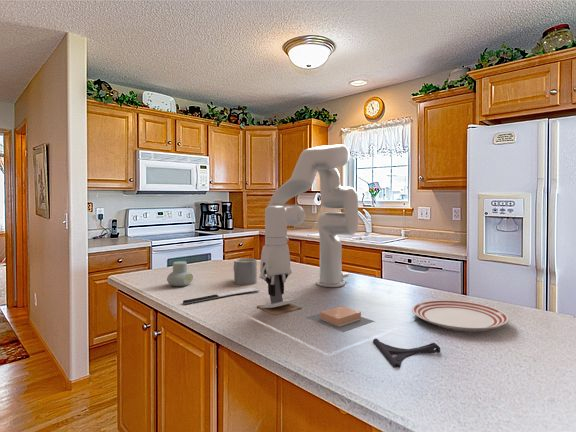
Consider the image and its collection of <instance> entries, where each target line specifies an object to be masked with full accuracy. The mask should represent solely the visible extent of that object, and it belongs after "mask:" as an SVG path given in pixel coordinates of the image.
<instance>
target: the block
mask: <svg viewBox="0 0 576 432" xmlns="http://www.w3.org/2000/svg"><path fill="white" fill-rule="evenodd" d="M319 313H320V319H321V320H324V321H326V322H329V323H332V324H334V325H337V326H342V325H345V324H348V323H351V322H354V321H357V320H360V318H361V317H362V312H361V311H359V310H356V309H354V308H353V309H352V308H351V307H347V306H344V305H340V306H338V307H333V308H329V309H327V310H322V311H320V312H319Z"/></svg>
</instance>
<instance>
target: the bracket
mask: <svg viewBox="0 0 576 432" xmlns="http://www.w3.org/2000/svg"><path fill="white" fill-rule="evenodd" d="M372 344H374V346H375V345H376V346H375V348H377V350H378V351H379V350H380V351H379V352H380V353H381V354H382V355H383V357H384V358H385V359H386V360H387V362H388V363H389V364H390V365H391V367H392V368H396V366H397V367H398V368H400V367H402V363H403V360H404V359H406V358H407V357H410V356H412V355H416V354H434V353H435V354H436V353H441V348H440V347H441V346H439V345H438V344H437V343H436V342H431V343H429V344H425V345H422V346H419V347H412V348H403V347H402V348H401V347H396V346H392V345H389V344H387V343H383V342H382V341H380V340H379V339H378V338H374V339H373V340H372ZM394 355H395V356H394Z"/></svg>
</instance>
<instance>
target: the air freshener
mask: <svg viewBox="0 0 576 432" xmlns="http://www.w3.org/2000/svg"><path fill="white" fill-rule="evenodd" d="M193 280H194V275H193V274H192V273H191V272H190V271H189V270H188V263H187V261H184V260H183V261H182V260H181V261H173V262H172V272H170V273H169V274H168V276H167V277H166V281H167V283H168V284H169V285H171V286H173V287H186V285H187V286H188V285H190V284H191V283H192V281H193Z"/></svg>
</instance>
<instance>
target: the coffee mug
mask: <svg viewBox="0 0 576 432" xmlns="http://www.w3.org/2000/svg"><path fill="white" fill-rule="evenodd" d="M233 273H234V277H233V278H234V279H233V280H234V281H233V282H234V284H235V285H238V286H250V285H254V284H256V283H257V280H258V277H257V259H255V258H248V257H247V258H245V257H244V258H235V259H234V260H233Z"/></svg>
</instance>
